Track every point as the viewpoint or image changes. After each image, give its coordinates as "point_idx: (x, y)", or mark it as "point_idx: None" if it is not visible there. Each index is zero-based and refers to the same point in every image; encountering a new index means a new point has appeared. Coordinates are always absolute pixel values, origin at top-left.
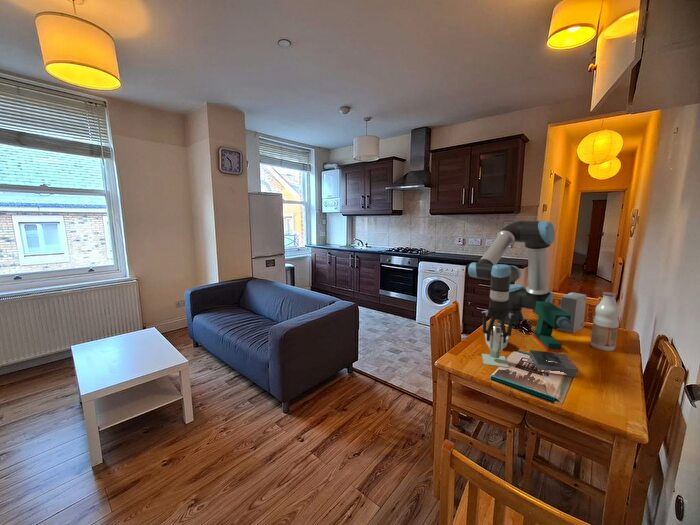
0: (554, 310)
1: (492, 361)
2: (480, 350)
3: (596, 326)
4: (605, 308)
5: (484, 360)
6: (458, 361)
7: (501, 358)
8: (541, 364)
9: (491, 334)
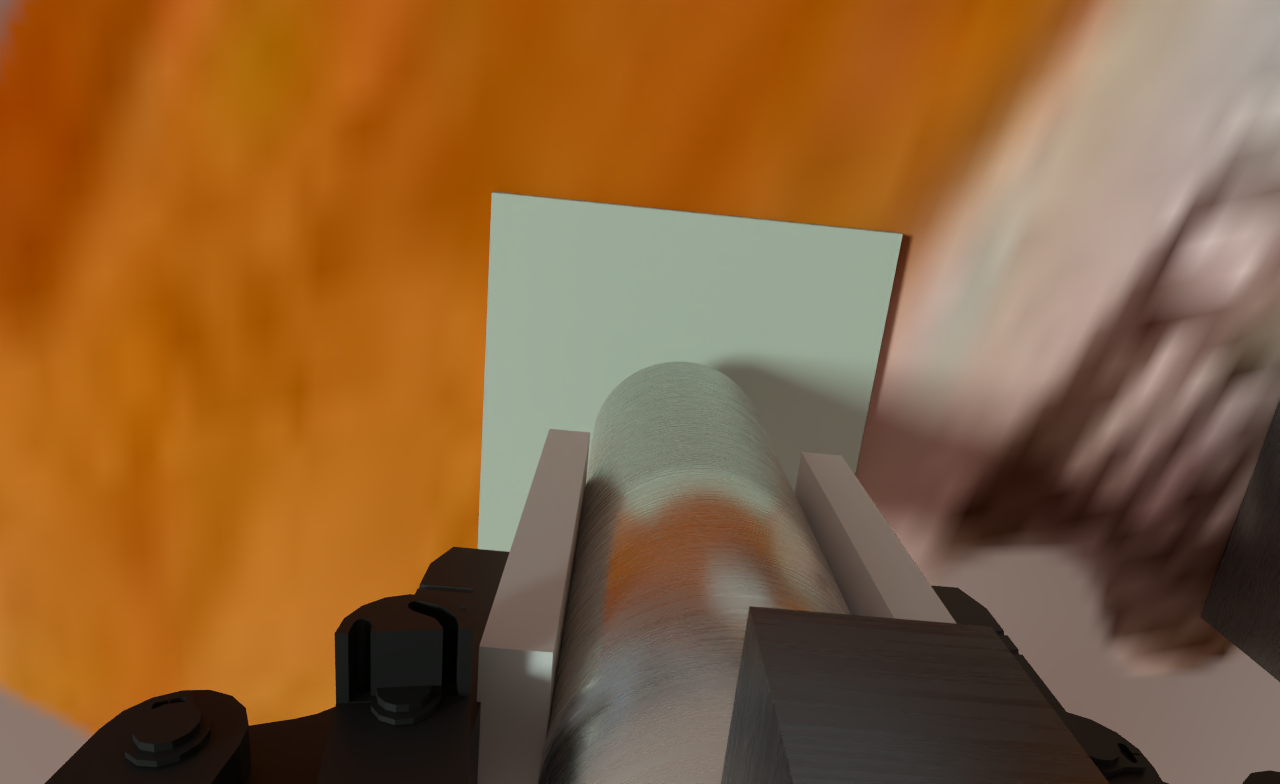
0: None
1: None
2: (497, 4)
3: None
4: None
5: (502, 460)
6: (97, 536)
7: (814, 327)
8: None
9: (540, 758)
